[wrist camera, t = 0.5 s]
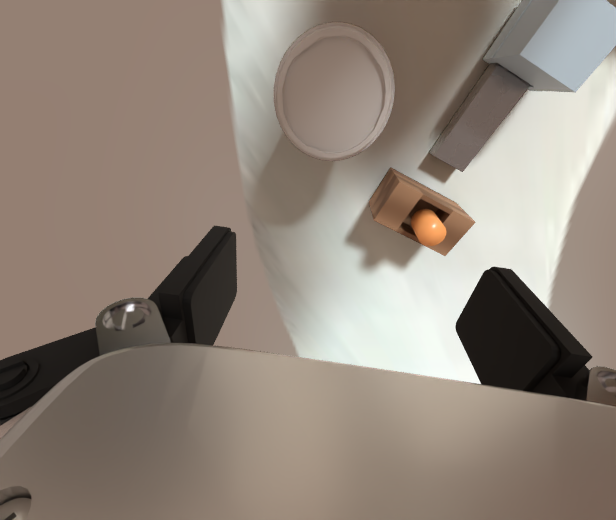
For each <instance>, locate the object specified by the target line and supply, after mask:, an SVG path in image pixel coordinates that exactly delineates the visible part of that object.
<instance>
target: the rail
mask: <svg viewBox="0 0 616 520" xmlns="http://www.w3.org/2000/svg"><path fill="white" fill-rule="evenodd" d="M529 86H530V84H529V83H527V82H526V81H524V80H523V79H521V78H520V77H518V76H517V75H515V74H514V73H512V72H511V71H509V70H508V69H506V68H505V67H503V66H502V65H500V64H499V63H490V64H489V66H488V67H487V69H486V70H485V72H484V73H483V75H482V76H481V77H480V79H479V80H478V82H477V83H476V85H475V86H474V88H473V89H472V91H471V92H470V93H469V95H468V96H467V98H466V99H465V101H464V102H463V104H462V105H461V106H460V108H459V109H458V111H457V112H456V114H455V115H454V117H453V118H452V120H451V121H450V122H449V124H448V125H447V127H446V128H445V130H444V131H443V133H442V134H441V136H440V137H439V138H438V140H437V141H436V143H435V144H434V146H433V147H432V149H431V150H430V151H429V153H431V154H432V155H433V156H435V157H437V158H438V159H440V160H442V161H444V162H445V163H447V164H449V165H451V166H452V167H454V168H456V169H458V170H460V171H461V172H463V171H464V169H465V168H466V167H467V166H468V164H469V163H470V162H471V160H472V159H473V158H474V157H475V155H476V154H477V153H478V152H479V150H480V149H481V148H482V146H483V145H484V144H485V143H486V141H487V140H488V139H489V137H490V136H491V135H492V134H493V132H494V131H495V130H496V128H497V127H498V126H499V125H500V123H501V122H502V121H503V120H504V118H505V117H506V116H507V114H508V113H509V112H510V111H511V109H512V108H513V107H514V105H515V104H516V103H517V102H518V100H519V99H520V98H521V96H522V95H523V94H524V93H525V91H526V90H527V89H528V88H529Z"/></svg>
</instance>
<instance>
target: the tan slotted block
mask: <svg viewBox="0 0 616 520" xmlns="http://www.w3.org/2000/svg"><path fill="white" fill-rule="evenodd" d="M369 204H370V208H371V212H372V216H373V219H374V221H376V222H378V223H380V224H382V225H384V226H386V227H388V228H390V229H392V230H394V231H396V232H398V233H400V234H402V235H404V236H406V237H408V238H410V239H412V240H414V241H416V242H418V243H420V241H419V240H418V238H417V236H416V234H415V232H414V230H413V228H412V226H411V218H412V216H413V215H414V214H415V213H416V212H417V211H419V210H422V209H429V210H432V211H433V212H434V213H435V214H436V216H437V217H438V218H439V220H440V221H441V222H442V224H443V225H444V226H445V228H446V236H445V238H444V240H443V241H442V242H441V243H439V244H437V245H435V246H426V247H428V248H430V249H432V250H434V251H436V252H438V253H440V254H442V255H444V256H446V255H447V253H448V252H449V251H450V250H451V249H452V248H453V247H454V246H455V245H456V243H457V242H458V241H459V240H460V239H461V238H462V237H463V236H464V234H465V233H466V232H467V231H468V230H469V229H470V228H471V227H472V226H473V224H474V223H475V221H474V220H473V219H472V218H471V217H470V216H469V215H468V214H467V213H466V212H465V211H464V210H463V209H462V208H461V207H460V206H459V205H458V204H457V203H455V202H454V201H452V200H450V199H448V198H446V197H444V196H443V195H441V194H439V193H437V192H435V191H433V190H431V189H430V188H428V187H426V186H424V185H422V184H420V183H419V182H417V181H415V180H413V179H411V178H409V177H407V176H406V175H404V174H402V173H400V172H398V171H396V170H395V169H393V168H391V167H390V169H389V171H388V172H387V174H386V175H385V177H384V179H383V180H382V182H381V183H380V185H379V186H378V188H377V190H376V191H375V193H374V194H373V196H372V197H371V199H370V201H369ZM420 244H421V243H420ZM422 245H423V244H422ZM424 246H425V245H424Z"/></svg>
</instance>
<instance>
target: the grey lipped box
mask: <svg viewBox="0 0 616 520" xmlns="http://www.w3.org/2000/svg"><path fill="white" fill-rule="evenodd" d="M615 46H616V7H614V6H613V5H612V4H610V3H609V2H608V1H607V0H522V1H521V3H520V4H519V6H518V7H517V9H516V10H515V12H514V13H513V15H512V16H511V18H510V19H509V20H508V22H507V23H506V25H505V26H504V28H503V29H502V31H501V32H500V34H499V35H498V37H497V38H496V40H495V41H494V43H493V44H492V46H491V47H490V49H489V50H488V52H487V53H486V55H485V56H484V58H483V60H484V61H486V62H487V63H499V64H500V65H502V66H503V67H505V68H506V69H508V70H509V71H511V72H512V73H514V74H515V75H517V76H518V77H520V78H521V79H523V80H524V81H526V82H527V83H529V84H530V86H529V88H528V90H530V91H559V92H576V91H577V90H578V89H579V88H580V86H581V85H582V84H583V83H584V82H585V81H586V79H587V78H588V77H589V76H590V75H591V74H592V73H593V71H594V70H595V69H596V68H597V67H598V66H599V64H600V63H601V62H602V61H603V60H604V59H605V58H606V56H607V55H608V54H609V53H610V52H611V51H612V49H613V48H614V47H615Z"/></svg>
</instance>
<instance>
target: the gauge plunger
mask: <svg viewBox="0 0 616 520" xmlns="http://www.w3.org/2000/svg"><path fill="white" fill-rule="evenodd" d="M411 226H412V228H413V230H414V232H415V234H416V236H417V238H418V240H419V241H420V243H421V244H423V245H425V246H435V245H437V244H439V243H441V242H442V241H443V240H444V238H445V236H446V228H445V226H444V225H443V224H442V222H441V221H440V220H439V218H438V217H437V216H436V214H435V213H434V212H433V211H432V210H429V209H422V210H419V211H417V212H416V213H415V214H414V215H413V216H412V218H411Z"/></svg>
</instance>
